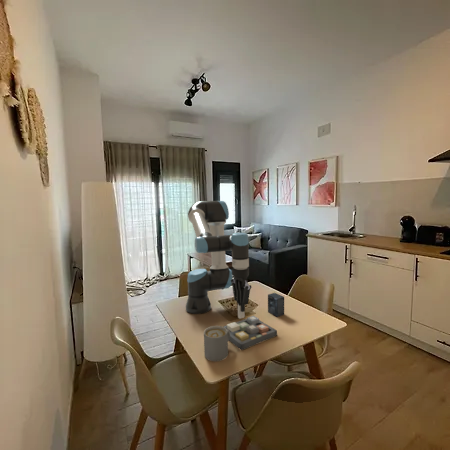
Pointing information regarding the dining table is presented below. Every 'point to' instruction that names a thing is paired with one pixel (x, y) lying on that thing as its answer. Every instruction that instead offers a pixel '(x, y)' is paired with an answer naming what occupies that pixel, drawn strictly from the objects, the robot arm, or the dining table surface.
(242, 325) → the key sage
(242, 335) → the key ochre
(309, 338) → the dining table surface
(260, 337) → the keypad board
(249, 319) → the key slate
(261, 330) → the key terracotta
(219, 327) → the coffee mug
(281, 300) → the box
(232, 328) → the key cream
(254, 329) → the key charcoal
